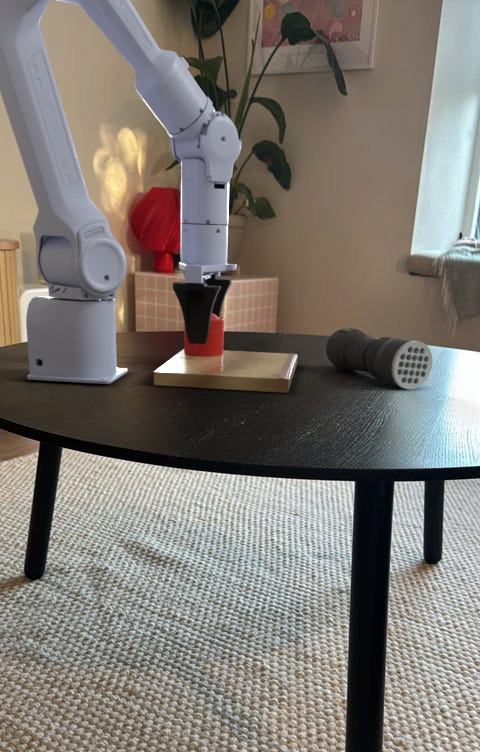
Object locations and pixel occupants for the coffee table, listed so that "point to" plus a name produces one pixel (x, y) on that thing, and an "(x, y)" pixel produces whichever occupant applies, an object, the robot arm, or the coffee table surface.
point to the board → (230, 371)
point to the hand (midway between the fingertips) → (202, 339)
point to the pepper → (208, 340)
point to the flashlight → (381, 357)
